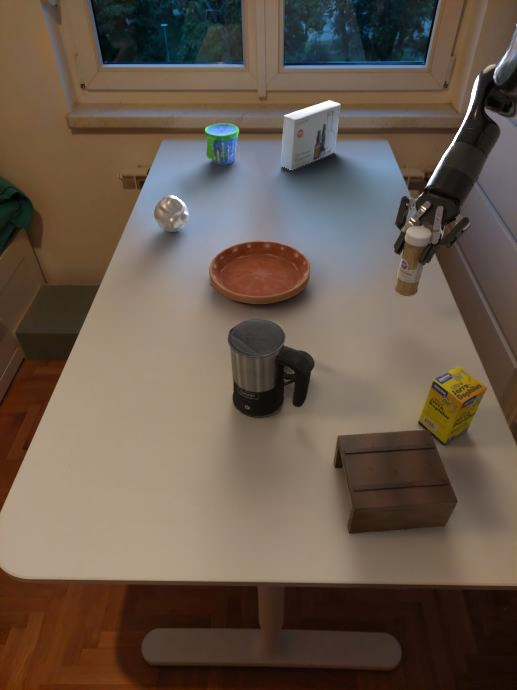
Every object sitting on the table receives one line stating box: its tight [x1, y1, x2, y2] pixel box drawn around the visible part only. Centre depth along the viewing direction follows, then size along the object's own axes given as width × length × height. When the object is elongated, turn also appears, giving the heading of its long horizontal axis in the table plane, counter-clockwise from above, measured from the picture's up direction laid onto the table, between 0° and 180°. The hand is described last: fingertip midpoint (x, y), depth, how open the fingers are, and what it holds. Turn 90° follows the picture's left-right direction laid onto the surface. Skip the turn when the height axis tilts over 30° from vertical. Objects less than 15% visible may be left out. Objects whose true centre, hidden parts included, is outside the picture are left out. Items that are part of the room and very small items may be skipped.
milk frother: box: [227, 318, 315, 418], centre depth 87 cm, size 14×16×15 cm
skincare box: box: [280, 100, 342, 171], centre depth 159 cm, size 21×5×16 cm, turn 132°
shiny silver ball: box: [153, 195, 190, 233], centre depth 129 cm, size 9×10×10 cm
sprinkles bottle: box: [394, 225, 433, 297], centre depth 96 cm, size 5×5×13 cm
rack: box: [333, 429, 459, 535], centre depth 73 cm, size 14×12×7 cm
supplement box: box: [417, 365, 488, 447], centre depth 81 cm, size 6×6×11 cm
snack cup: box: [204, 122, 240, 165], centre depth 161 cm, size 16×10×10 cm
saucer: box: [208, 240, 311, 305], centre depth 115 cm, size 23×23×4 cm
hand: (409, 258), depth 94 cm, fingers closed on sprinkles bottle, 4 cm apart
